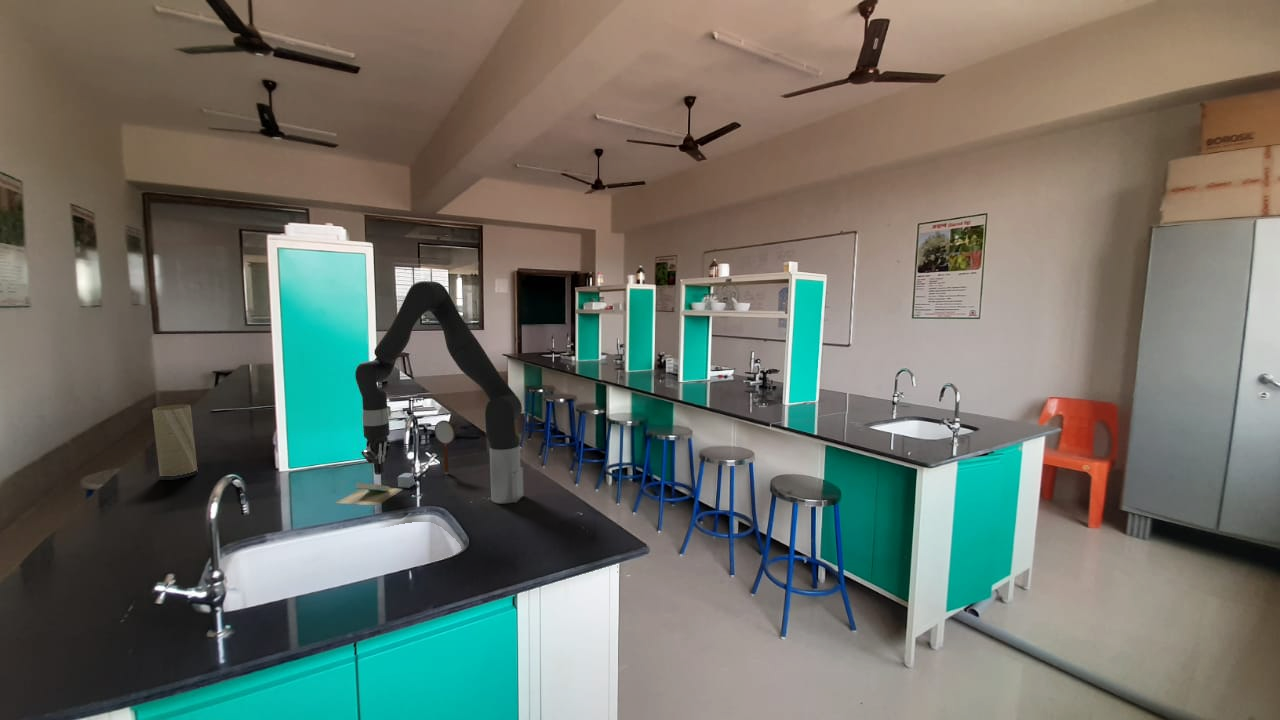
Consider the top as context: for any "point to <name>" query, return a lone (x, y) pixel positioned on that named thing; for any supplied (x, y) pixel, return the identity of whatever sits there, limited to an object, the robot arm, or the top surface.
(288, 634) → the top surface
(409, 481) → the block
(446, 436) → the magnifying glass
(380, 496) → the cork mat
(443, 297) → the robot arm
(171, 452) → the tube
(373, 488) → the tile
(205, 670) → the top surface
